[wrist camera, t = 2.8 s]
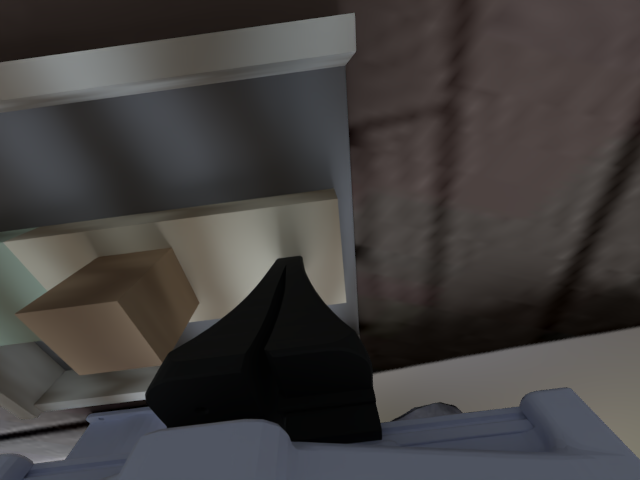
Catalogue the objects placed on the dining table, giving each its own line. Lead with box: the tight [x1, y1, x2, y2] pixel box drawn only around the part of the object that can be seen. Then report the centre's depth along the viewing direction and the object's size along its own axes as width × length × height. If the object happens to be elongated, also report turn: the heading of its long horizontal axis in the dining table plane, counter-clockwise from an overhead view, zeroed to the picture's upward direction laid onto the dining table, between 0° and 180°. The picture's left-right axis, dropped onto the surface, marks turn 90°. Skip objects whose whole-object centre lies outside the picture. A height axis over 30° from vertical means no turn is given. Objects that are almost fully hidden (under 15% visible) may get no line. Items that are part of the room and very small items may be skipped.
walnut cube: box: [14, 248, 199, 376], centre depth 11 cm, size 4×4×4 cm
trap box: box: [0, 13, 360, 420], centre depth 14 cm, size 26×20×3 cm
